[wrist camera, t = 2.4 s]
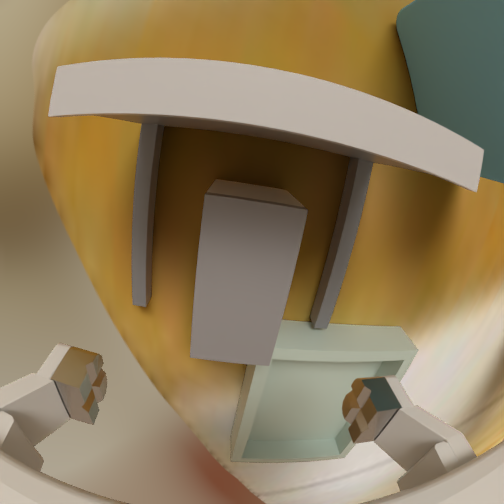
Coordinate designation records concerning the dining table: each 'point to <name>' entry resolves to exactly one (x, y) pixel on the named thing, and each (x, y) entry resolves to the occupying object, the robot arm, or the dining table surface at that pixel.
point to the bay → (264, 126)
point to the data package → (459, 70)
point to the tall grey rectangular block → (244, 271)
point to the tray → (311, 390)
